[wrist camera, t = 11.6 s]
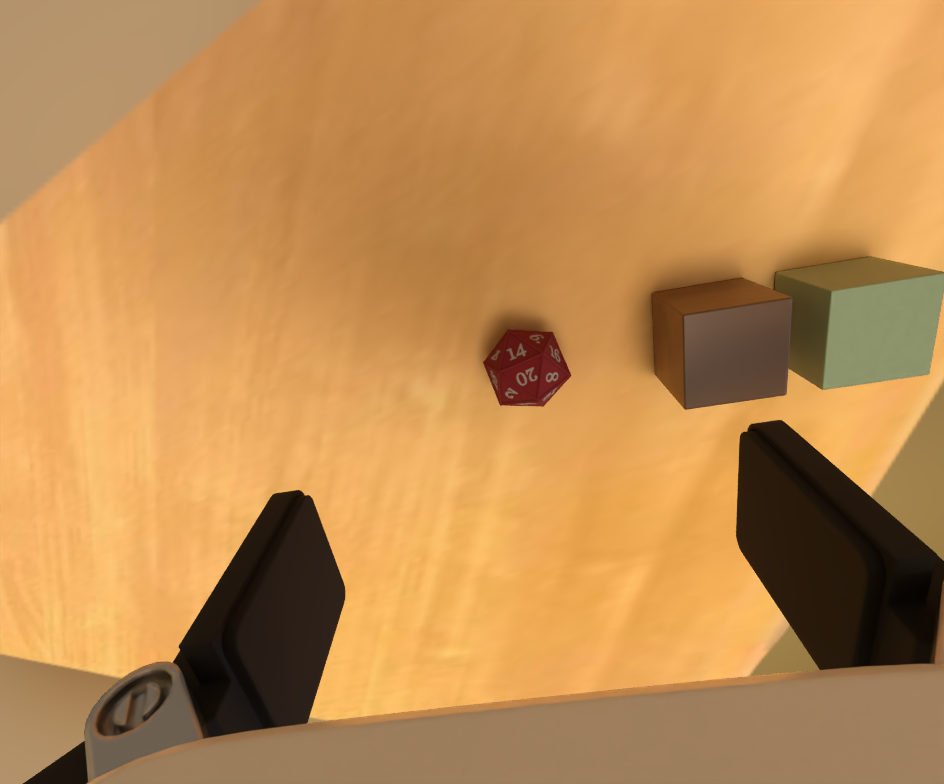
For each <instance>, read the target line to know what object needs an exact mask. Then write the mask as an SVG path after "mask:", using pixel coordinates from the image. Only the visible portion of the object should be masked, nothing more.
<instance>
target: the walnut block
mask: <svg viewBox="0 0 944 784" xmlns="http://www.w3.org/2000/svg"><path fill="white" fill-rule="evenodd" d="M792 302H793V299H792V297H790V296H787V295H785V294H782V293H780V292H777V291H775V290H772V289H770V288H767V287H765V286H762V285H760V284H757V283H755V282H752V281H750V280H747V279H745V278H738V279H732V280H726V281H720V282H714V283H708V284H702V285H696V286H690V287H684V288H678V289H672V290H666V291H660V292H654V293H652V315H653V340H654V364H655V375H656V376H657V378H658V379H659V380H660V381H661V382H662V383H663V385H664V386H665V387H666V388H667V389H668V390H669V392H670V393H671V394H672V395H673V396H674V397H675V399H676V400H677V401H678V402H679V403H680V404H681V406H682V407H683V408H684V409H693V408H700V407H707V406H714V405H721V404H728V403H735V402H741V401H748V400H755V399H762V398H769V397H776V396H783V395H786V394H787V379H788V364H789V348H790V333H791V317H792Z"/></svg>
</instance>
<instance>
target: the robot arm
mask: <svg viewBox="0 0 944 784" xmlns="http://www.w3.org/2000/svg"><path fill="white" fill-rule="evenodd" d="M736 537H737V542H738V545H739V548H740V550H741V552H742V553H743V555H744V556H745V558H746V559H747V561H748V562H749V564H750V565H751V567H752V568H753V570H754V571H755V573H756V574H757V576H758V577H759V579H760V580H761V582H762V583H763V585H764V586H765V588H766V589H767V591H768V592H769V594H770V595H771V597H772V598H773V600H774V601H775V603H776V604H777V606H778V608H779V609H780V611H781V612H782V614H783V615H784V617H785V618H786V620H787V621H788V623H789V624H790V626H791V627H792V628H793V630H794V632H795V633H796V635H797V636H798V638H799V639H800V641H801V642H802V643H803V645H804V647H805V648H806V649H807V651H808V653H809V654H810V656H811V657H812V659H813V660H814V661H815V663H816V664H817V666H818V668H819V669H820V670H815V671H805V672H804V671H803V672H791V673H780V674H767V675H757V676H747V677H737V678H727V679H717V680H707V681H697V682H687V683H677V684H667V685H657V686H647V687H637V688H626V689H617V690H607V691H598V692H588V693H579V694H569V695H559V696H550V697H540V698H531V699H521V700H512V701H503V702H493V703H484V704H474V705H465V706H456V707H447V708H438V709H429V710H420V711H411V712H402V713H393V714H384V715H375V716H366V717H357V718H348V719H339V720H330V721H322V722H314V723H307V722H308V719H309V716H310V713H311V709H312V706H313V703H314V700H315V696H316V693H317V690H318V686H319V683H320V680H321V677H322V673H323V670H324V667H325V664H326V660H327V657H328V654H329V650H330V647H331V644H332V641H333V637H334V634H335V631H336V628H337V624H338V621H339V618H340V615H341V611H342V608H343V605H344V601H345V586H344V582H343V580H342V577H341V574H340V572H339V569H338V566H337V564H336V561H335V558H334V556H333V553H332V550H331V547H330V545H329V542H328V539H327V537H326V534H325V531H324V529H323V526H322V523H321V521H320V518H319V515H318V512H317V510H316V507H315V504H314V502H313V499H312V498H311V497H310V496H309V495H306V496H305V495H304V493H303V492H302V491H300V490H296V491H289V492H282V493H276V494H273V495H272V496H271V498H270V499H269V501H268V503H267V504H266V506H265V507H264V509H263V511H262V512H261V514H260V516H259V517H258V519H257V520H256V522H255V524H254V525H253V527H252V528H251V530H250V532H249V533H248V535H247V537H246V538H245V540H244V541H243V543H242V545H241V546H240V548H239V550H238V551H237V553H236V554H235V556H234V558H233V559H232V561H231V562H230V564H229V566H228V567H227V569H226V571H225V572H224V574H223V575H222V577H221V579H220V580H219V582H218V584H217V585H216V587H215V588H214V590H213V592H212V593H211V595H210V596H209V598H208V600H207V601H206V603H205V605H204V606H203V608H202V609H201V611H200V613H199V614H198V616H197V618H196V619H195V621H194V622H193V624H192V626H191V627H190V629H189V630H188V632H187V634H186V635H185V637H184V639H183V640H182V642H181V643H180V645H179V648H180V652H179V653H178V655H177V656H176V658H175V660H174V661H173V663H171V662H156V663H152V664H149V665H146V666H143V667H141V668H139V669H137V670H135V671H133V672H131V673H129V674H128V675H126V676H125V677H124V678H122V679H121V680H119V681H118V682H117V683H115V684H114V685H113V686H112V687H111V688H110V689H109V690H108V691H107V692H106V693H104V695H102V697H101V698H100V699H99V700H98V702H97V703H96V704H95V706H94V707H93V708H92V710H91V712H90V714H89V716H88V718H87V720H86V724H85V731H84V738H85V741H84V742H82V743H81V744H79V745H78V746H76V747H75V748H74V749H72V750H71V751H70V752H68V753H66V754H65V755H64V756H62V757H61V758H59V759H58V760H56V761H55V762H54V763H52V764H51V765H49V766H48V767H46V768H45V769H43V770H42V771H41V772H39V773H38V774H36V775H35V776H33V777H32V778H30V779H29V780H28V781H26V782H25V783H23V784H944V561H943V560H942V559H941V558H940V557H939V556H937V554H936V553H935V552H934V551H933V550H932V549H930V548H929V547H928V546H927V545H926V544H925V543H923V542H922V541H921V540H920V539H919V538H918V537H917V536H915V535H914V534H913V533H912V532H911V531H910V530H908V529H907V528H906V527H905V526H904V525H903V524H902V523H900V522H899V521H898V520H897V519H896V518H895V517H893V516H892V515H891V514H890V513H889V512H888V511H887V510H885V509H884V508H883V507H882V506H881V505H880V504H878V503H877V502H876V501H875V500H874V499H873V498H872V497H870V496H869V495H868V494H867V493H866V492H865V491H863V490H862V489H861V488H860V487H859V486H858V485H857V484H855V483H854V482H853V481H852V480H851V479H850V478H848V477H847V476H846V475H845V474H844V473H843V472H842V471H840V470H839V469H838V468H837V467H836V466H835V465H833V464H832V463H831V462H830V461H829V460H828V459H827V458H825V457H824V456H823V455H822V454H821V453H820V452H818V451H817V450H816V449H815V448H814V447H813V446H812V445H810V444H809V443H808V442H807V441H806V440H805V439H803V438H802V437H801V436H800V435H799V434H798V433H797V432H795V431H794V430H793V429H792V428H791V427H790V426H788V425H787V424H786V423H785V422H783V421H782V420H776V421H769V422H762V423H755V424H751V425H750V426H749V428H748V431H747V432H743V433H741V435H740V444H739V471H738V498H737V524H736Z"/></svg>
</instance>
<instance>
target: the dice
mask: <svg viewBox="0 0 944 784" xmlns="http://www.w3.org/2000/svg"><path fill="white" fill-rule="evenodd" d="M483 363H484V366H485V368H486V371H487V373H488V376H489V378H490V381H491V383H492V386H493V388H494V391H495V394H496V396H497V399H498V401H499V404H500V405H510V406H544V405H545V404H546V403H547V402H548V401H549V400H550V398H551V397H552V396H553V395H554V394H555V393H556V392H557V391H558V390H559V389H560V387H561V386H562V385H563V384H564V383H565V382H566V381H567V380H568V379H569V378H570V377H571V374H570V371H569V369H568V367H567V364H566V362H565V360H564V357H563V355H562V353H561V350H560V348H559V346H558V343H557V341H556V339H555V336H554V334H553V332H540V331H525V330H511V329H508V330H507V332H506V333H505V334H504V336H503V337H502V338H501V340H500V341H499V342H498V344H497V345H496V346H495V348H494V349H493V350H492V352H491V353H490V354H489V356H488V357H487V358H486V360H485V361H484V362H483Z"/></svg>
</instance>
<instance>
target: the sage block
mask: <svg viewBox="0 0 944 784" xmlns="http://www.w3.org/2000/svg"><path fill="white" fill-rule="evenodd" d="M774 290H775V291H777V292H780V293H782V294H785V295H787V296H790V297H792V299H793V302H792V317H791V333H790V348H789V364H788V368H789V369H790V370H792V371H794V372H795V373H797V374H798V375H800V376H801V377H803V378H805V379H806V380H808V381H809V382H811V383H812V384H814V385H816V386H817V387H819V388H820V389H822V390H826V389H833V388H840V387H847V386H854V385H860V384H867V383H874V382H881V381H888V380H895V379H902V378H909V377H915V376H922V375H928V374H929V372H930V367H931V361H932V356H933V350H934V344H935V339H936V333H937V327H938V322H939V316H940V310H941V305H942V299H943V293H944V272H942V271H937V270H932V269H927V268H923V267H918V266H913V265H909V264H904V263H899V262H894V261H890V260H885V259H880V258H875V257H871V256H870V257H864V258H858V259H852V260H846V261H840V262H834V263H828V264H822V265H816V266H810V267H804V268H798V269H792V270H786V271H780V272H776V273H775V289H774Z"/></svg>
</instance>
